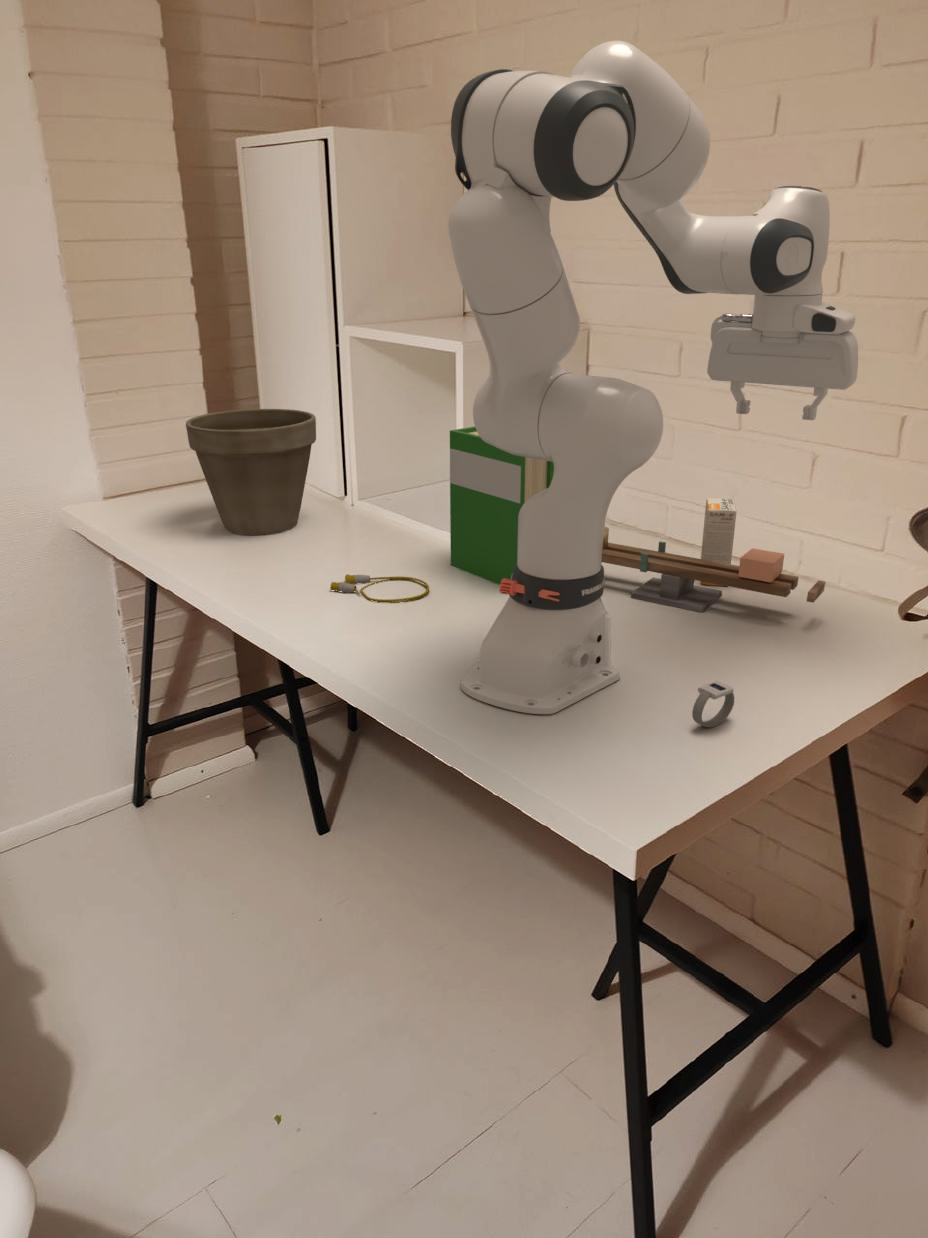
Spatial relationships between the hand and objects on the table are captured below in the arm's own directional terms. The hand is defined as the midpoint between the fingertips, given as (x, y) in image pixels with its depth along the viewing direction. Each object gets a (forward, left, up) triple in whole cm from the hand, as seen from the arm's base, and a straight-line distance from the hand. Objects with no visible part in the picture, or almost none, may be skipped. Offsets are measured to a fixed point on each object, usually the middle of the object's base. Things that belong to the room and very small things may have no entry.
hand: (775, 416), depth 138 cm
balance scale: (+1, +13, -30) cm, 33 cm away
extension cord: (-22, +55, -31) cm, 67 cm away
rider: (+1, 0, -26) cm, 26 cm away
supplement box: (+13, +11, -31) cm, 35 cm away
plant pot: (-6, +99, -31) cm, 103 cm away
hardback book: (-5, +43, -31) cm, 53 cm away
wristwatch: (-38, -7, -31) cm, 50 cm away
